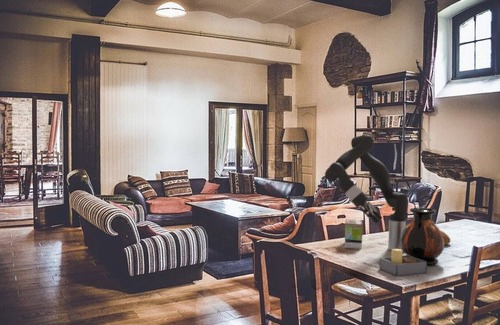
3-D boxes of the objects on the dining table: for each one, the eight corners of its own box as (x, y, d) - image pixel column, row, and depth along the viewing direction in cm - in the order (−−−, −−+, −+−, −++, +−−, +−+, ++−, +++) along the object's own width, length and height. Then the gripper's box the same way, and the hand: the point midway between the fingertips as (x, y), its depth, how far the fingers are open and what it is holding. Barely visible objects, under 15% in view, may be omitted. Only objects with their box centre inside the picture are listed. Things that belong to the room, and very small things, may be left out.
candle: (397, 268, 230) (398, 248, 229) (403, 271, 225) (404, 250, 225) (388, 269, 228) (389, 249, 228) (395, 272, 223) (395, 251, 223)
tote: (408, 265, 237) (408, 255, 237) (426, 273, 224) (427, 261, 224) (379, 268, 231) (379, 257, 231) (396, 276, 219) (396, 264, 218)
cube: (402, 267, 232) (402, 257, 232) (412, 267, 232) (412, 257, 232) (405, 270, 227) (406, 260, 227) (416, 270, 227) (416, 260, 227)
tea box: (362, 249, 272) (362, 224, 271) (344, 248, 274) (345, 223, 273) (361, 243, 286) (362, 219, 286) (344, 242, 288) (345, 218, 288)
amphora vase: (408, 254, 260) (410, 204, 258) (449, 261, 246) (451, 209, 244) (393, 262, 243) (394, 209, 242) (435, 270, 229) (437, 214, 228)
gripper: (358, 192, 225) (382, 218, 221) (364, 189, 238) (387, 213, 234) (347, 202, 228) (371, 228, 224) (354, 199, 241) (376, 223, 237)
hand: (379, 220), depth 229 cm, fingers open, 8 cm apart
